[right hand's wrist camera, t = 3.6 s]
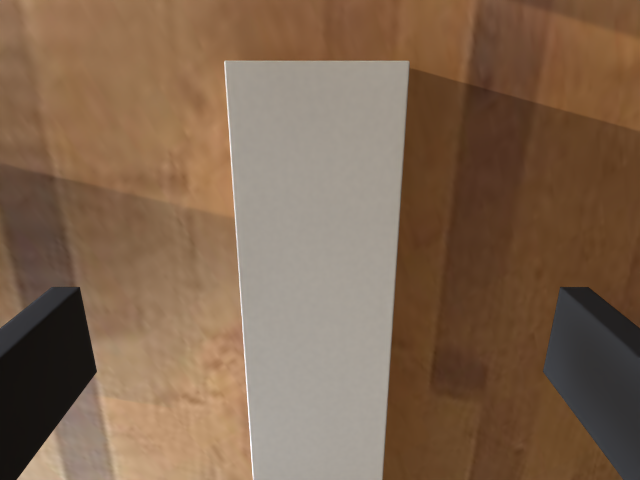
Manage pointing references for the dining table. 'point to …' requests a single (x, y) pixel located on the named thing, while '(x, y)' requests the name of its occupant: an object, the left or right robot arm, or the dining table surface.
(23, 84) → the dining table surface
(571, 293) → the right robot arm
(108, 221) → the dining table surface
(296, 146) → the slab
